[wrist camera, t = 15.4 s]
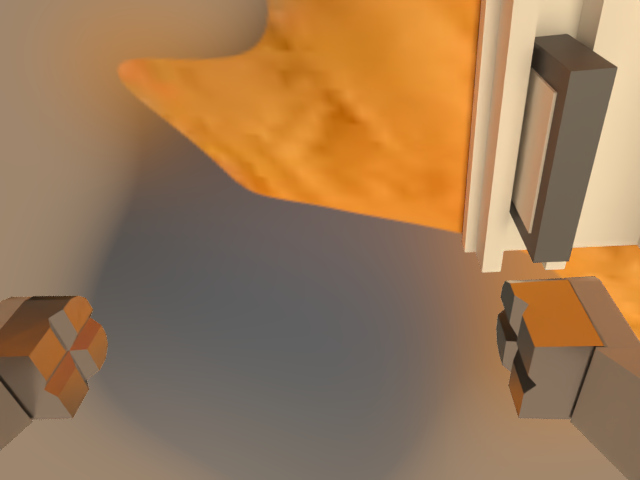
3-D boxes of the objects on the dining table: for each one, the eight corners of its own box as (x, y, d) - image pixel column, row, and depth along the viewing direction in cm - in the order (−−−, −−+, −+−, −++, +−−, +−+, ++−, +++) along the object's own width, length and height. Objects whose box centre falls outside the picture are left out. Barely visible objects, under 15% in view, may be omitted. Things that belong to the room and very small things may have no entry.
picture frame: (527, 37, 33) (567, 71, 27) (570, 33, 33) (621, 67, 26) (504, 205, 41) (530, 262, 35) (538, 203, 41) (571, 261, 35)
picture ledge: (484, -41, 32) (583, 9, 18) (761, -74, 30) (1120, -46, 16) (461, 242, 46) (506, 396, 32) (649, 234, 44) (786, 394, 30)
